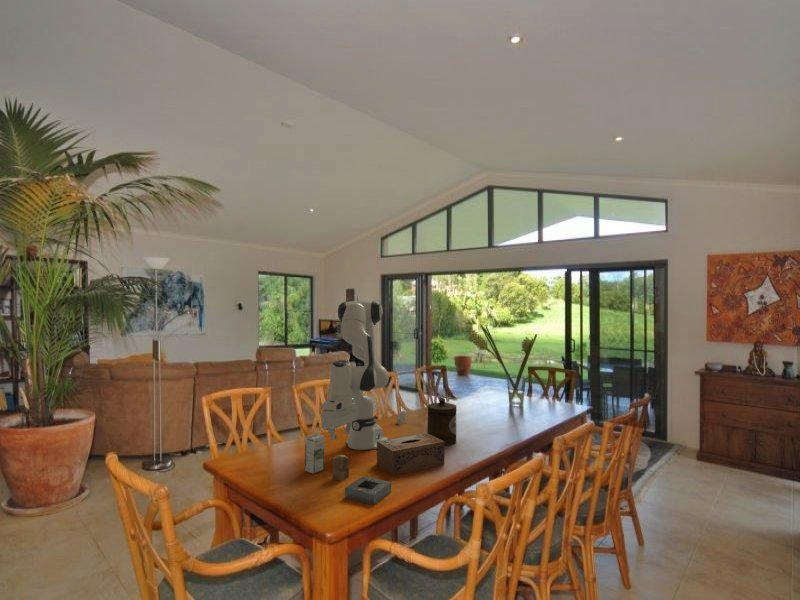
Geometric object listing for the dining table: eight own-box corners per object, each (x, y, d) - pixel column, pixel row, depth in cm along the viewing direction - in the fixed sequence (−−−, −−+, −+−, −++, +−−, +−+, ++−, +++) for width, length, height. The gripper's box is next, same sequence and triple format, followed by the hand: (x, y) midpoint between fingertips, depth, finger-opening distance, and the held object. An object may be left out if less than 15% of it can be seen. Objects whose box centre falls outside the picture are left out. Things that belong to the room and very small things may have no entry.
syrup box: (315, 467, 184) (315, 432, 184) (324, 470, 180) (324, 435, 180) (304, 470, 179) (304, 436, 179) (313, 474, 175) (313, 438, 176)
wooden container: (458, 445, 212) (458, 401, 213) (428, 445, 212) (428, 401, 213) (454, 436, 227) (454, 395, 227) (426, 436, 227) (426, 395, 227)
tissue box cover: (426, 454, 200) (426, 433, 201) (444, 464, 188) (444, 441, 188) (376, 464, 188) (377, 441, 188) (392, 475, 175) (392, 451, 175)
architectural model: (395, 424, 252) (395, 411, 252) (401, 422, 258) (401, 409, 258) (399, 425, 250) (399, 412, 250) (406, 422, 256) (406, 410, 256)
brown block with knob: (339, 474, 175) (339, 453, 175) (348, 476, 173) (348, 455, 173) (332, 478, 171) (332, 457, 171) (342, 480, 169) (342, 459, 169)
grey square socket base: (363, 485, 165) (363, 475, 165) (391, 491, 159) (391, 481, 159) (344, 497, 154) (344, 487, 154) (373, 504, 148) (374, 494, 149)
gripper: (349, 396, 183) (348, 429, 183) (318, 405, 165) (318, 441, 165) (361, 397, 180) (361, 431, 180) (332, 407, 162) (331, 444, 162)
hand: (340, 436), depth 172 cm, fingers open, 8 cm apart
